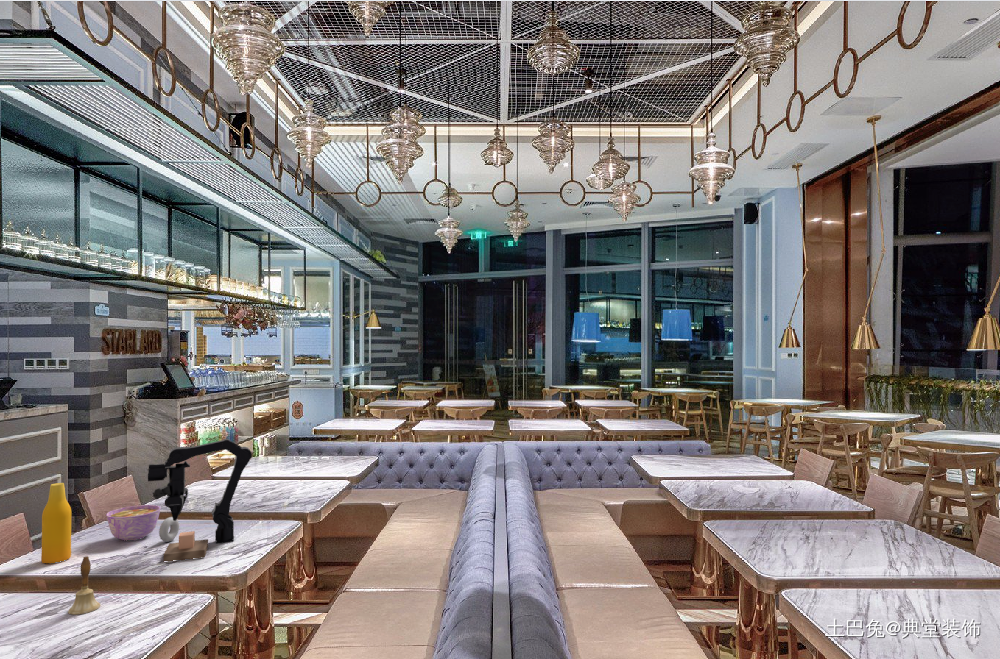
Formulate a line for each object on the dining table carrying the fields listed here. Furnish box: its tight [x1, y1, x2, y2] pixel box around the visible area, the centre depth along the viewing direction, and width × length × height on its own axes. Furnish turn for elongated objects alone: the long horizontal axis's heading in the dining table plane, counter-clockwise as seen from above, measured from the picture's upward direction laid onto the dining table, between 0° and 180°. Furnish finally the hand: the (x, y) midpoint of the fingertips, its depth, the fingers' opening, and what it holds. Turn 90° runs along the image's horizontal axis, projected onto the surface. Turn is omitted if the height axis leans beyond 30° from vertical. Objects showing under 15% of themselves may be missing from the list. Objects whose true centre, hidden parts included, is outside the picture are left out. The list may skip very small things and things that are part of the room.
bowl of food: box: [106, 504, 161, 542], centre depth 256 cm, size 20×20×12 cm
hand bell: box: [67, 555, 101, 616], centre depth 185 cm, size 8×8×16 cm
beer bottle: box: [40, 482, 73, 564], centre depth 229 cm, size 9×9×29 cm
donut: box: [158, 516, 180, 543], centre depth 251 cm, size 10×4×10 cm, turn 171°
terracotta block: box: [178, 530, 196, 549], centre depth 234 cm, size 5×5×5 cm
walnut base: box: [162, 538, 209, 563], centre depth 234 cm, size 14×14×3 cm
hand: (176, 517), depth 243 cm, fingers open, 9 cm apart
